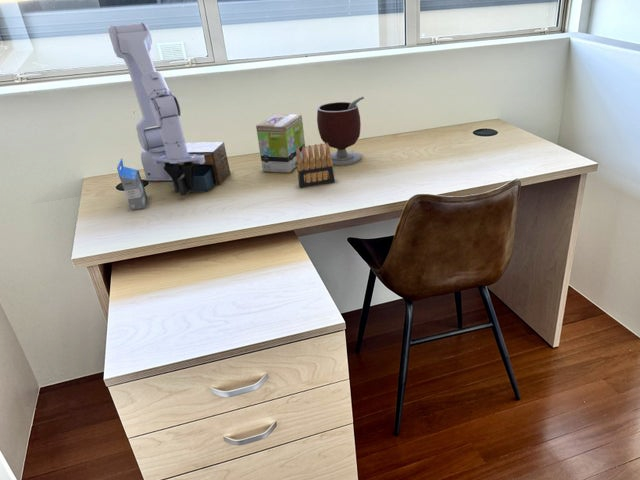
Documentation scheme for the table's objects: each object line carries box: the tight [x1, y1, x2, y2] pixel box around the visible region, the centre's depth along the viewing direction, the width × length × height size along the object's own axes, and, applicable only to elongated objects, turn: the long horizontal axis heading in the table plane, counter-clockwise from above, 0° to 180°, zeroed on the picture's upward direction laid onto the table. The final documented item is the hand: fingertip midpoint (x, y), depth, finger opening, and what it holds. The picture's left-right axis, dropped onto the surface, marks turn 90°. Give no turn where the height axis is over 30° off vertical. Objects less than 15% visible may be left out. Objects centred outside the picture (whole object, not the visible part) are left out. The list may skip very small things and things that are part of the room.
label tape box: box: [116, 157, 148, 211], centre depth 156 cm, size 9×4×12 cm, turn 16°
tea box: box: [255, 113, 306, 173], centre depth 180 cm, size 15×10×15 cm
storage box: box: [171, 166, 216, 197], centre depth 166 cm, size 10×16×6 cm, turn 176°
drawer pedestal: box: [179, 141, 231, 186], centre depth 171 cm, size 12×14×10 cm
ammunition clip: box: [296, 142, 336, 189], centre depth 164 cm, size 11×2×12 cm, turn 111°
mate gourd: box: [316, 96, 365, 166], centre depth 181 cm, size 16×14×20 cm
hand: (185, 187), depth 162 cm, fingers open, 3 cm apart
